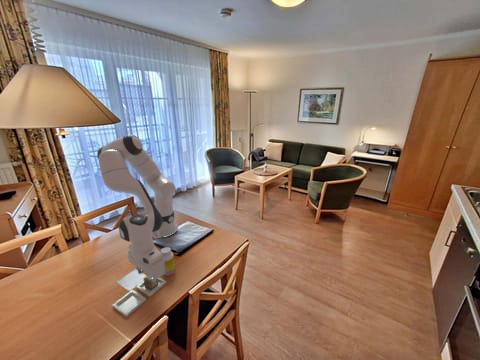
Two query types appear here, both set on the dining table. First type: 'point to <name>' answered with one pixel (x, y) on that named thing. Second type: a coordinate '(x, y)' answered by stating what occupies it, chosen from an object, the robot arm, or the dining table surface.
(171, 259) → the supplement bottle
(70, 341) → the dining table surface
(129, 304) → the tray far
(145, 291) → the tray middle
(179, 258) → the dining table surface
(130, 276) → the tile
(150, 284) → the letter cube
